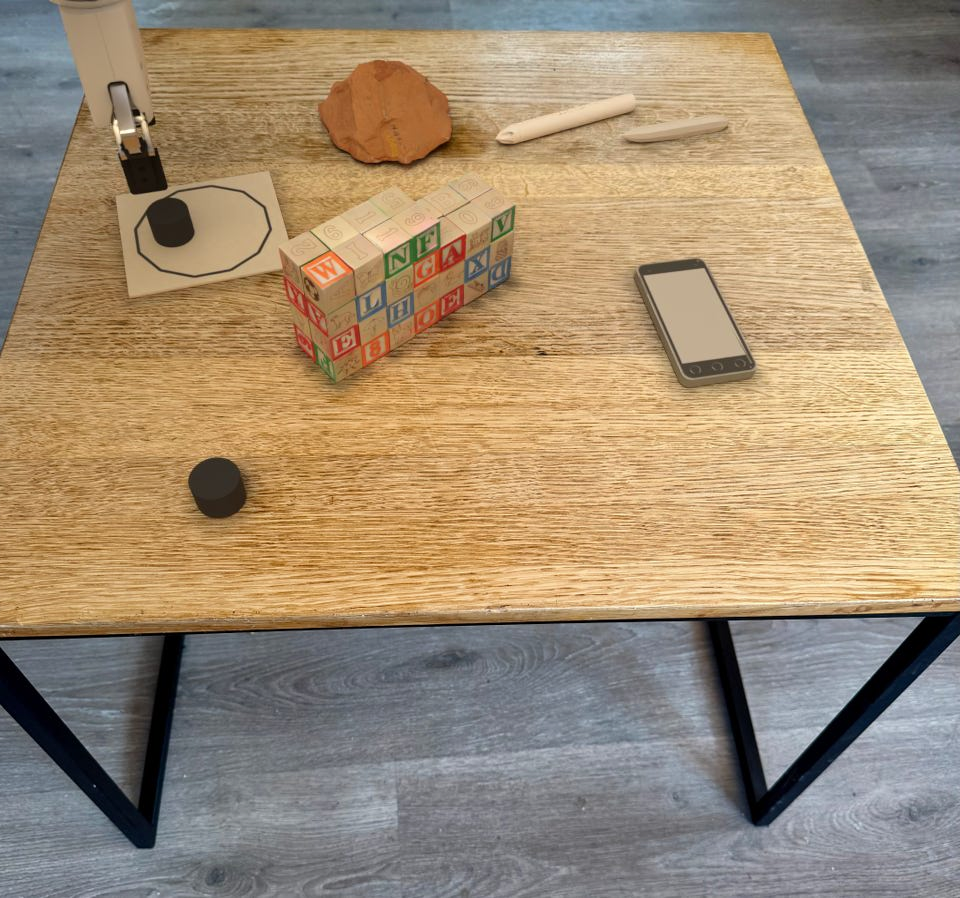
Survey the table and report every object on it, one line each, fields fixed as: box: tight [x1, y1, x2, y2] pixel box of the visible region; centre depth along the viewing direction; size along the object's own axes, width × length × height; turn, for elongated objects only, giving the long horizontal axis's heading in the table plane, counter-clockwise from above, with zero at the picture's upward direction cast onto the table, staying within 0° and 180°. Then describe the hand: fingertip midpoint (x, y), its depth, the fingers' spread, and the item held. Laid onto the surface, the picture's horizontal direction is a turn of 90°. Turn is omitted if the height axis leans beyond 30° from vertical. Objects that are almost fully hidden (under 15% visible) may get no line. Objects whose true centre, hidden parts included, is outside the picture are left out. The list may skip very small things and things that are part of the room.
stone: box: [317, 59, 453, 165], centre depth 97 cm, size 15×15×10 cm
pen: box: [620, 114, 730, 143], centre depth 101 cm, size 2×14×2 cm, turn 108°
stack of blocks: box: [279, 171, 516, 383], centre depth 79 cm, size 21×6×12 cm, turn 131°
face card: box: [114, 170, 290, 299], centre depth 89 cm, size 16×15×1 cm
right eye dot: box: [187, 456, 247, 519], centre depth 70 cm, size 4×4×3 cm
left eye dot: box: [146, 198, 195, 248], centre depth 87 cm, size 4×4×3 cm
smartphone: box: [633, 257, 758, 388], centre depth 84 cm, size 7×1×15 cm
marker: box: [495, 92, 637, 145], centre depth 100 cm, size 18×2×2 cm, turn 116°
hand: (144, 157), depth 80 cm, fingers open, 9 cm apart
